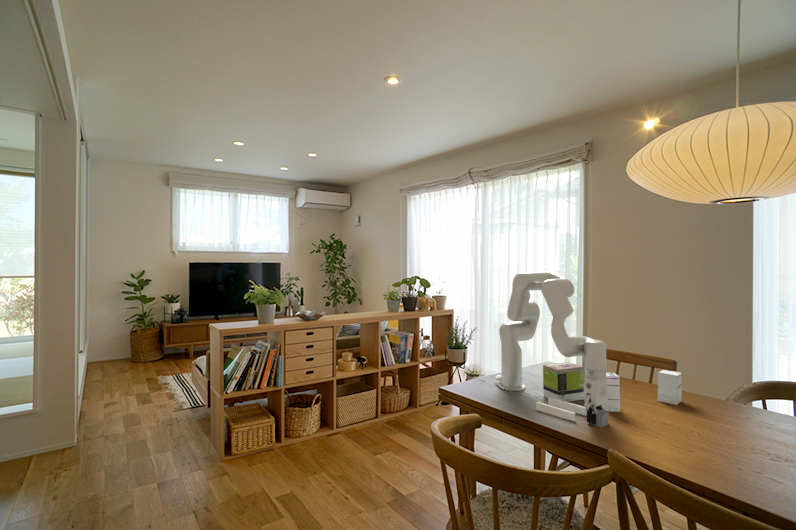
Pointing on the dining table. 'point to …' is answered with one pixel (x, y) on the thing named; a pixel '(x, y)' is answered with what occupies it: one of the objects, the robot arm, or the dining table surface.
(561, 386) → the tea box
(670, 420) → the dining table surface
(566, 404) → the channel
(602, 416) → the block
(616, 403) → the syrup box
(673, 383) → the supplement box
